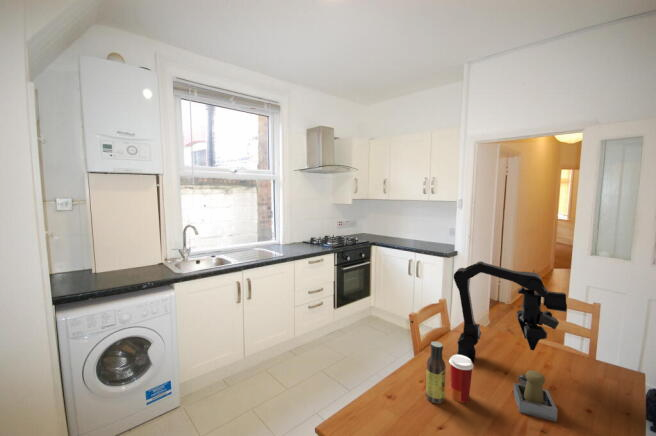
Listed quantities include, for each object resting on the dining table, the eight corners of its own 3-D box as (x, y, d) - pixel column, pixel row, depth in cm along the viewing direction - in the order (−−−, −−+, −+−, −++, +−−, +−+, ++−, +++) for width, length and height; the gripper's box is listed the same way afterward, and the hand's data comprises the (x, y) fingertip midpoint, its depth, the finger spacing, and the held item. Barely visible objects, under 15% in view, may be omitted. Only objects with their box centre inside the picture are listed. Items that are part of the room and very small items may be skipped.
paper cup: (470, 392, 104) (471, 355, 103) (473, 407, 97) (475, 368, 96) (447, 387, 107) (448, 352, 105) (448, 402, 99) (449, 363, 98)
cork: (537, 397, 100) (539, 368, 99) (548, 410, 94) (550, 379, 93) (519, 396, 101) (520, 366, 100) (529, 409, 95) (531, 378, 94)
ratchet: (519, 415, 95) (520, 401, 94) (508, 380, 112) (509, 368, 112) (556, 424, 91) (557, 410, 90) (539, 387, 108) (540, 375, 108)
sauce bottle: (445, 406, 97) (447, 350, 96) (425, 402, 99) (427, 347, 97) (443, 394, 103) (445, 341, 102) (425, 390, 105) (427, 338, 103)
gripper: (566, 319, 100) (563, 361, 101) (549, 300, 117) (546, 337, 118) (528, 313, 104) (525, 354, 105) (517, 296, 121) (515, 332, 122)
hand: (529, 344), depth 113 cm, fingers open, 9 cm apart
